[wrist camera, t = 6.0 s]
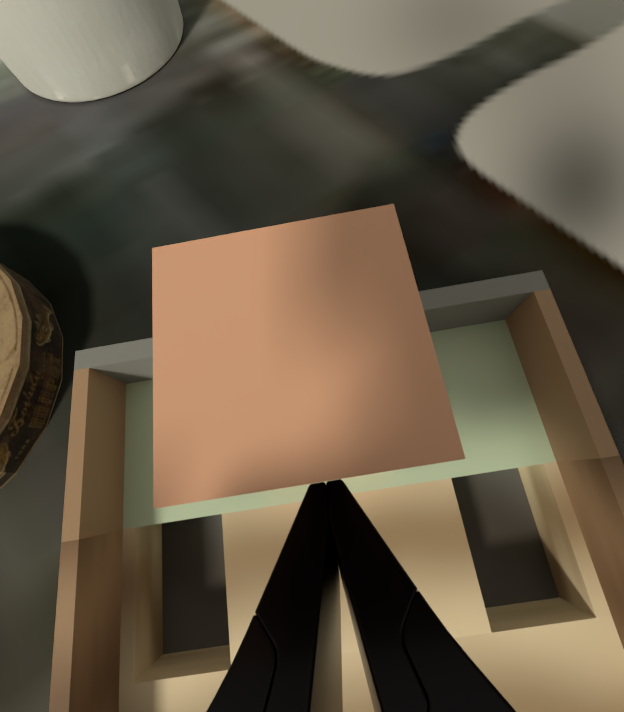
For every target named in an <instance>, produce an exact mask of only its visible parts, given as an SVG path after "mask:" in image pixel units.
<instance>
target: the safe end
mask: <svg viewBox="0 0 624 712" xmlns="http://www.w3.org/2000/svg"><path fill="white" fill-rule="evenodd" d="M419 295H420V299H421V302H422V306H423V309H424V313H425V317H426V320H427V324H428V327H429V331H430V334H431V338H432V341H433V345H434V348H435V352H436V356H437V359H438V363H439V366H440V370H441V373H442V377H443V380H444V384H445V388H446V391H447V395H448V398H449V402H450V405H451V409H452V412H453V416H454V419H455V423H456V427H457V430H458V434H459V437H460V441H461V444H462V448H463V451H464V455H465V459H462V460H455V461H449V462H443V463H437V464H430V465H424V466H418V467H412V468H405V469H399V470H393V471H387V472H380V473H374V474H368V475H362V476H355V477H349V478H343V479H341V480H342V481H343V482H344V483H345V484H346V486H347V487H348V489H349V490H350V492H351V493H352V494H353V493H359V492H365V491H372V490H378V489H385V488H391V487H398V486H404V485H410V484H417V483H423V482H430V481H436V480H442V479H449V478H455V477H462V476H468V475H474V474H481V473H487V472H494V471H500V470H506V469H513V468H519V467H526V466H532V465H538V464H545V463H551V462H559V461H572V460H585V459H598V458H605V457H612V456H618V455H619V453H618V450H617V448H616V445H615V443H614V441H613V438H612V436H611V433H610V431H609V429H608V426H607V424H606V421H605V419H604V417H603V414H602V412H601V409H600V407H599V405H598V402H597V400H596V397H595V395H594V393H593V390H592V388H591V385H590V383H589V381H588V378H587V376H586V373H585V371H584V369H583V366H582V364H581V362H580V359H579V357H578V354H577V352H576V350H575V347H574V345H573V342H572V340H571V338H570V335H569V333H568V330H567V328H566V326H565V323H564V321H563V318H562V316H561V314H560V311H559V309H558V306H557V304H556V302H555V299H554V297H553V294H552V292H551V290H550V287H549V285H548V282H547V280H546V278H545V275H544V273H543V270H540V271H534V272H528V273H523V274H517V275H511V276H505V277H500V278H494V279H488V280H482V281H476V282H471V283H465V284H459V285H453V286H448V287H442V288H436V289H430V290H425V291H419ZM337 480H339V479H337ZM330 481H332V480H330ZM324 482H325V483H327V482H328V481H324ZM318 483H320V482H318ZM312 484H313V483H312ZM309 485H310V484H305V485H299V486H293V487H287V488H280V489H274V490H268V491H262V492H255V493H249V494H243V495H237V496H230V497H224V498H218V499H212V500H205V501H199V502H193V503H187V504H180V505H174V506H168V507H162V508H155V509H154V495H153V338H148V339H142V340H137V341H131V342H125V343H119V344H114V345H108V346H102V347H96V348H91V349H85V350H79V351H75V363H74V377H73V390H72V404H71V417H70V431H69V444H68V458H67V472H66V485H65V499H64V512H63V526H62V540H61V542H66V541H73V540H79V539H83V538H88V537H92V536H96V535H101V534H105V533H109V532H114V531H118V530H122V529H129V528H135V527H141V526H148V525H154V524H161V523H167V522H173V521H180V520H186V519H193V518H199V517H205V516H212V515H218V514H225V513H231V512H237V511H244V510H250V509H257V508H263V507H269V506H276V505H282V504H289V503H295V502H301V501H303V498H304V496H305V494H306V491H307V489H308V487H309Z"/></svg>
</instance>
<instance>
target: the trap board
mask: <svg viewBox="0 0 624 712" xmlns="http://www.w3.org/2000/svg"><path fill="white" fill-rule="evenodd" d="M352 495H353V496H354V497H355V499H356V500H357V502H358V503H359V505H360V506H361V508H362V509H363V510H364V512H365V513H366V515H367V516H368V518H369V519H370V521H371V522H372V524H373V525H374V526H375V528H376V529H377V531H378V532H379V534H380V535H381V537H382V538H383V539H384V541H385V542H386V544H387V545H388V547H389V548H390V550H391V551H392V552H393V554H394V555H395V557H396V558H397V560H398V561H399V563H400V564H401V565H402V567H403V568H404V570H405V571H406V573H407V574H408V576H409V577H410V578H411V580H412V581H413V583H414V584H415V586H416V587H417V591H419V592H420V593H421V594H422V596H423V597H424V598H425V600H426V601H427V603H428V604H429V606H430V607H431V608H432V610H433V611H434V613H435V614H436V615H437V617H438V618H439V619H440V621H441V622H442V623H443V625H444V626H445V628H446V629H447V630H448V632H449V633H450V634H451V635H452V636H453V638H454V639H455V640H456V641H457V643H458V644H459V645H460V646H461V647H462V649H463V650H464V651H465V652H466V654H467V655H468V656H469V657H470V658H471V660H472V661H473V662H474V663H475V664H476V665H477V667H478V668H479V669H480V670H481V671H482V672H483V673H484V675H485V676H486V677H487V678H488V679H489V680H490V682H491V683H492V684H493V685H494V686H495V687H496V689H497V690H498V691H499V692H500V693H501V694H502V696H503V697H504V698H505V699H506V700H507V701H508V702H509V704H510V705H511V706H512V707H513V708H514V709H515V711H516V712H624V465H623V462H622V460H621V457H620V455H618V456H612V457H605V458H598V459H585V460H572V461H559V462H551V463H545V464H538V465H532V466H526V467H519V468H513V469H506V470H500V471H494V472H487V473H481V474H474V475H468V476H462V477H455V478H449V479H442V480H436V481H430V482H423V483H417V484H410V485H404V486H398V487H391V488H385V489H378V490H372V491H365V492H359V493H353V494H352ZM301 503H302V501H301V502H295V503H289V504H282V505H276V506H269V507H263V508H257V509H250V510H244V511H237V512H231V513H225V514H218V515H212V516H205V517H199V518H193V519H186V520H180V521H173V522H167V523H161V524H154V525H148V526H141V527H135V528H129V529H122V530H118V531H114V532H109V533H105V534H101V535H96V536H92V537H88V538H83V539H79V540H73V541H66V542H61V553H60V567H59V580H58V594H57V608H56V621H55V635H54V648H53V662H52V676H51V689H50V703H49V712H206V711H207V709H208V708H209V706H210V704H211V702H212V700H213V698H214V697H215V695H216V693H217V691H218V689H219V687H220V685H221V683H222V681H223V679H224V678H225V676H226V674H227V672H228V670H229V668H230V666H231V664H232V662H233V660H234V658H235V656H236V653H237V651H238V649H239V647H240V645H241V642H242V640H243V638H244V636H245V634H246V631H247V629H248V627H249V624H250V622H251V620H252V617H253V616H254V615H256V614H255V611H256V608H257V606H258V604H259V601H260V599H261V597H262V594H263V592H264V590H265V587H266V585H267V583H268V580H269V578H270V576H271V573H272V571H273V569H274V566H275V564H276V562H277V559H278V557H279V555H280V552H281V550H282V548H283V545H284V543H285V541H286V538H287V536H288V533H289V531H290V529H291V526H292V524H293V522H294V519H295V517H296V515H297V512H298V510H299V508H300V505H301ZM339 574H340V570H339ZM340 603H341V650H342V698H343V712H374V708H373V704H372V700H371V696H370V692H369V688H368V684H367V680H366V676H365V672H364V668H363V664H362V660H361V656H360V652H359V648H358V644H357V640H356V636H355V632H354V628H353V624H352V620H351V616H350V612H349V608H348V604H347V600H346V596H345V592H344V588H343V584H342V579H341V575H340Z"/></svg>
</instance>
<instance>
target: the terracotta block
mask: <svg viewBox="0 0 624 712" xmlns="http://www.w3.org/2000/svg"><path fill="white" fill-rule="evenodd" d="M152 291H153V495H154V509H155V508H162V507H168V506H174V505H180V504H187V503H193V502H199V501H205V500H212V499H218V498H224V497H230V496H237V495H243V494H249V493H255V492H262V491H268V490H274V489H280V488H287V487H293V486H299V485H305V484H312V483H318V482H324V481H330V480H337V479H343V478H349V477H355V476H362V475H368V474H374V473H380V472H387V471H393V470H399V469H405V468H412V467H418V466H424V465H430V464H437V463H443V462H449V461H455V460H462V459H465V455H464V451H463V448H462V444H461V441H460V437H459V434H458V430H457V427H456V423H455V419H454V416H453V412H452V409H451V405H450V402H449V398H448V395H447V391H446V388H445V384H444V380H443V377H442V373H441V370H440V366H439V363H438V359H437V356H436V352H435V348H434V345H433V341H432V338H431V334H430V331H429V327H428V324H427V320H426V317H425V313H424V309H423V306H422V302H421V299H420V295H419V292H418V288H417V285H416V281H415V277H414V274H413V270H412V267H411V263H410V260H409V256H408V253H407V249H406V246H405V242H404V238H403V235H402V231H401V228H400V224H399V221H398V217H397V214H396V210H395V206H394V204H389V205H383V206H378V207H373V208H367V209H362V210H356V211H351V212H345V213H340V214H335V215H329V216H324V217H318V218H313V219H308V220H302V221H297V222H291V223H286V224H280V225H275V226H270V227H264V228H259V229H253V230H248V231H242V232H237V233H232V234H226V235H221V236H215V237H210V238H205V239H199V240H194V241H188V242H183V243H177V244H172V245H167V246H161V247H156V248H152Z"/></svg>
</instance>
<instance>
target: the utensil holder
mask: <svg viewBox="0 0 624 712" xmlns="http://www.w3.org/2000/svg"><path fill="white" fill-rule="evenodd" d="M182 33H183V18H182V14H181V10H180V6H179V3H178V0H0V59H1V60H2V61H3V62H4V63H5V65H6V66H7V67H8V68H9V69H10V70H11V72H12V73H13V74H14V75H15V76H16V77H17V78H18V80H19V81H20V82H21V83H22V84H23V85H24V86H25V87H26V88H27V89H29V90H30V91H31V92H33V93H35V94H37V95H39V96H41V97H44V98H47V99H51V100H55V101H62V102H85V101H93V100H98V99H102V98H106V97H110V96H113V95H115V94H118V93H121V92H123V91H125V90H128V89H130V88H132V87H134V86H136V85H138V84H139V83H141V82H143V81H145V80H146V79H148V78H149V77H150V76H152V75H153V74H154V73H156V72H157V71H158V70H159V69H160V68H161V67H163V66H164V65H165V64H166V62H167V61H168V60H169V59H170V58H171V57H172V55H173V54H174V52H175V51H176V49H177V47H178V45H179V43H180V41H181V37H182Z"/></svg>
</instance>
